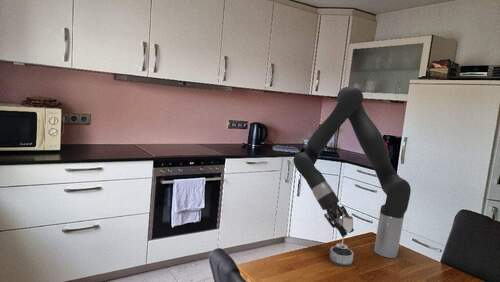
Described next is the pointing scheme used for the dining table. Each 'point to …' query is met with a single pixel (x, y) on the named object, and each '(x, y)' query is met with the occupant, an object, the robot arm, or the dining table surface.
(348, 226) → the wineglass
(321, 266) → the dining table surface
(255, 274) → the dining table surface
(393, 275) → the dining table surface
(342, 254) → the grey bowl
